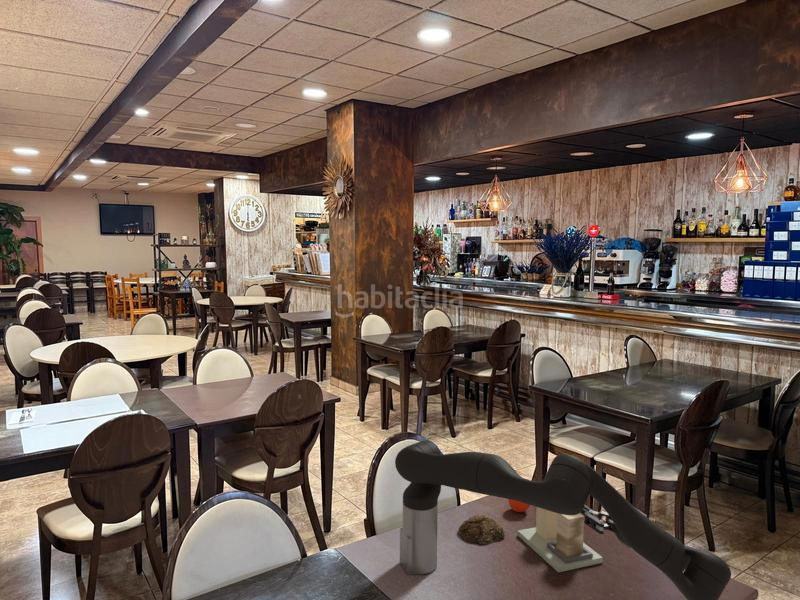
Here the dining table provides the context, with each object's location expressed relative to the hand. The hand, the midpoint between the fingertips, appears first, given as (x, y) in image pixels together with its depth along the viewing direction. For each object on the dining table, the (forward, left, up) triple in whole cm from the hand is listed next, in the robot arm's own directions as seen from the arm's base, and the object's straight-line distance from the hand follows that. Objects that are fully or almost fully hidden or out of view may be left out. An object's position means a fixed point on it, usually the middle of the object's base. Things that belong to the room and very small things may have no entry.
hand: (595, 505), depth 141 cm
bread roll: (-17, +29, -20) cm, 39 cm away
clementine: (+2, +38, -20) cm, 43 cm away
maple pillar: (0, +10, -18) cm, 20 cm away
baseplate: (0, +15, -19) cm, 24 cm away
